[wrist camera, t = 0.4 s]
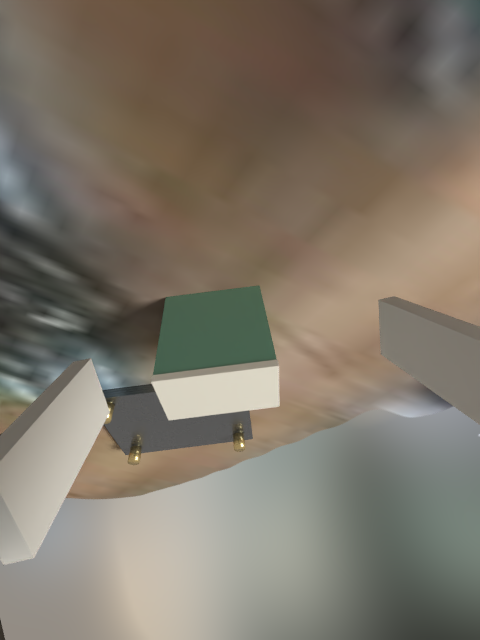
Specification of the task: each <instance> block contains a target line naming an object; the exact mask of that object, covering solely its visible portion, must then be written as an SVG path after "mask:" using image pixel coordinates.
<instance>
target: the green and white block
mask: <svg viewBox="0 0 480 640" xmlns="http://www.w3.org/2000/svg"><path fill="white" fill-rule="evenodd" d="M151 383H152V385H153V387H154V390H155V392H156V394H157V396H158V398H159V401H160V403H161V405H162V407H163V409H164V412H165V414H166V416H167V418H168V420H177V419H185V418H193V417H201V416H208V415H216V414H224V413H232V412H240V411H248V410H256V409H264V408H272V407H279V364H278V360H277V359H276V355H275V350H274V346H273V342H272V338H271V333H270V329H269V325H268V320H267V316H266V312H265V307H264V303H263V299H262V295H261V290H260V286H252V287H244V288H236V289H228V290H220V291H212V292H204V293H196V294H188V295H180V296H172V297H166V299H165V305H164V311H163V317H162V323H161V329H160V336H159V342H158V348H157V354H156V360H155V366H154V373H153V375H152V379H151Z"/></svg>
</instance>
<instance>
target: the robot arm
mask: <svg viewBox="0 0 480 640" xmlns="http://www.w3.org/2000/svg"><path fill="white" fill-rule="evenodd" d="M379 323H380V346H381V355H383V356H384V357H385V358H387V359H388V360H390V361H391V362H392V363H394V364H395V365H397V366H398V367H399V368H401V369H402V370H404V371H405V372H407V373H408V374H409V375H411V376H412V377H414V378H415V379H416V380H418V381H419V382H421V383H422V384H423V385H425V386H426V387H428V388H429V389H430V390H432V391H433V392H435V393H436V394H437V395H439V396H440V397H442V398H443V399H444V400H446V401H447V402H449V403H450V404H451V405H453V406H454V407H456V408H457V409H458V410H460V411H461V412H463V413H464V414H465V415H467V416H468V417H470V418H471V419H473V420H474V421H475V422H477V423H478V424H480V327H479V326H476V325H473V324H470V323H467V322H465V321H462V320H459V319H456V318H453V317H451V316H448V315H445V314H442V313H439V312H437V311H434V310H431V309H428V308H425V307H423V306H420V305H417V304H414V303H411V302H409V301H406V300H403V299H400V298H397V297H395V296H394V297H389V298H384V299H379ZM109 413H110V411H109V408H108V405H107V403H106V400H105V397H104V394H103V391H102V388H101V385H100V383H99V380H98V377H97V374H96V371H95V368H94V366H93V363H92V360H91V358H90V359H85V360H80V361H75V362H73V363H72V364H71V365H70V366H69V367H68V368H67V369H66V370H65V371H64V372H63V373H62V374H61V375H60V376H59V377H58V378H57V379H56V380H55V381H54V382H53V383H52V384H51V385H50V386H49V387H48V388H47V389H46V390H45V391H44V392H43V393H42V394H41V395H40V396H39V397H38V398H37V399H36V400H35V401H34V402H33V403H32V404H31V405H30V406H29V407H28V408H27V409H26V410H25V411H24V412H23V413H22V414H21V415H20V416H19V417H18V418H17V419H16V420H15V421H14V422H13V423H12V424H11V425H10V426H9V427H8V428H7V429H6V430H5V431H4V432H3V433H2V434H0V559H1V561H2V563H3V564H4V565H6V564H10V563H15V562H19V561H23V560H27V559H32V558H34V557H35V555H36V553H37V551H38V549H39V548H40V546H41V544H42V542H43V540H44V538H45V536H46V534H47V532H48V530H49V528H50V526H51V524H52V522H53V521H54V519H55V517H56V515H57V513H58V511H59V509H60V507H61V505H62V503H63V501H64V499H65V497H66V496H67V494H68V492H69V490H70V488H71V486H72V484H73V482H74V480H75V478H76V476H77V474H78V472H79V471H80V469H81V467H82V465H83V463H84V461H85V459H86V457H87V455H88V453H89V451H90V449H91V447H92V446H93V444H94V442H95V440H96V438H97V436H98V434H99V432H100V430H101V428H102V426H103V424H104V422H105V421H106V419H107V417H108V415H109ZM0 640H5V638H4V633H3V629H2V625H1V620H0Z"/></svg>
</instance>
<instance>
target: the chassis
mask: <svg viewBox="0 0 480 640" xmlns="http://www.w3.org/2000/svg"><path fill="white" fill-rule="evenodd" d="M103 394H104V397H105V400H106V403H107V405H108V408H109V411H110V413H109V415H108V417H107V419H106V421H105V422H104V426H105V427H106V428H107V430H108V431H109V433H110V434H111V435H112V437H113V438H114V439H115V441H116V442H117V444H118V445H119V446H120V448H121V449H122V451H123V452H124V453H125V455H129V458H128V464H130V465H137V464H139V463H140V457H141V453H146V452H154V451H162V450H170V449H178V448H185V447H193V446H201V445H209V444H217V443H225V442H232V441H233V443H234V450H235V451H237V452H240V451H243V450H245V440H248V439H253V437H252V429H251V421H250V413H249V410H248V411H240V412H232V413H224V414H216V415H208V416H201V417H193V418H185V419H177V420H168V418H167V416H166V414H165V412H164V409H163V407H162V405H161V403H160V401H159V398H158V396H157V394H156V392H155V390H154V387H153V385H152V384H151V385H143V386H135V387H127V388H119V389H111V390H103Z"/></svg>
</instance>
